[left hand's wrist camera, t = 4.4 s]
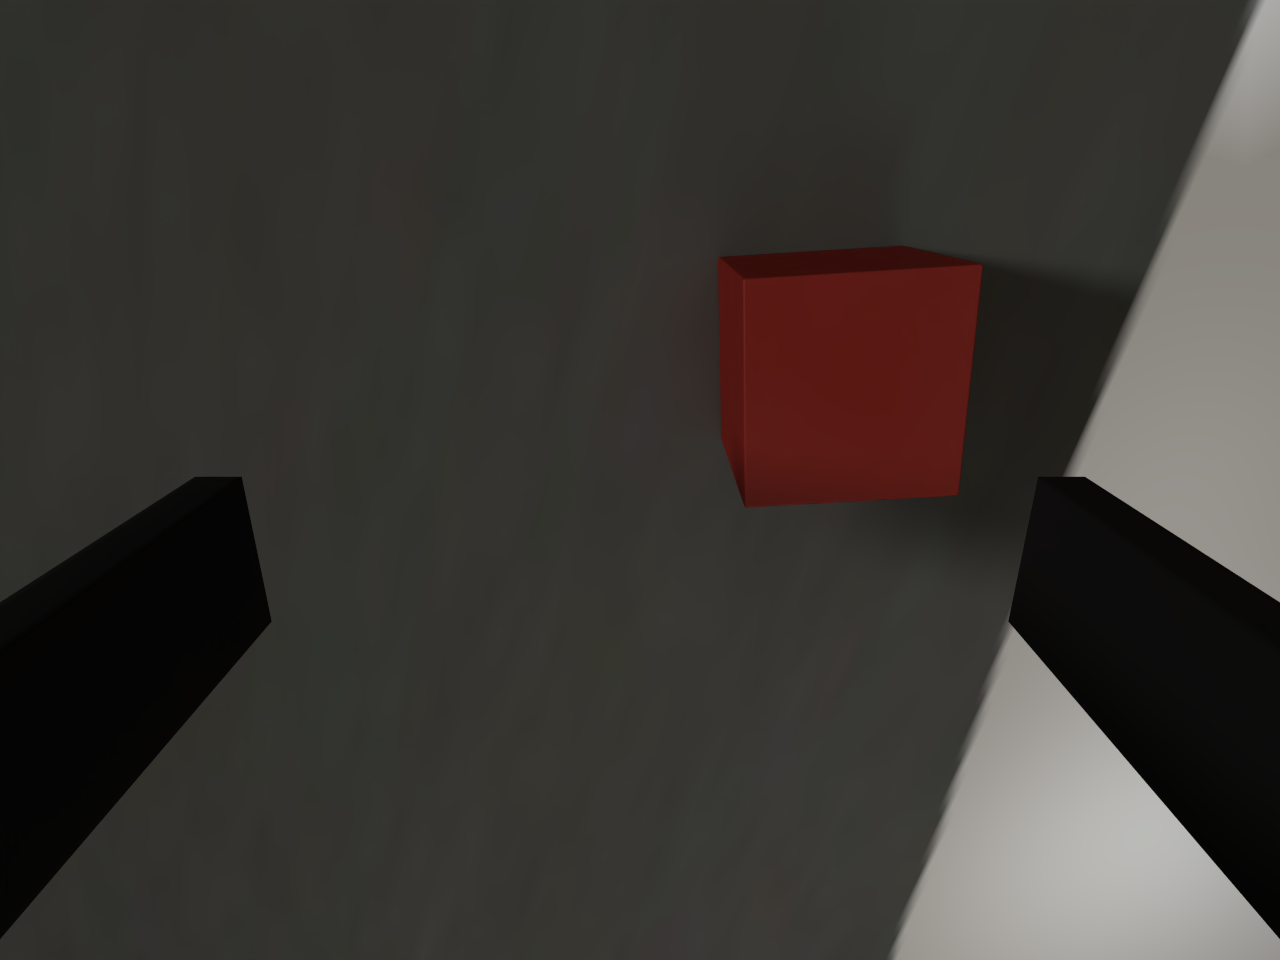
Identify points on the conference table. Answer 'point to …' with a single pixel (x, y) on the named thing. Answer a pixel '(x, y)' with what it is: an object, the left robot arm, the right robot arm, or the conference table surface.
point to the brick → (846, 373)
